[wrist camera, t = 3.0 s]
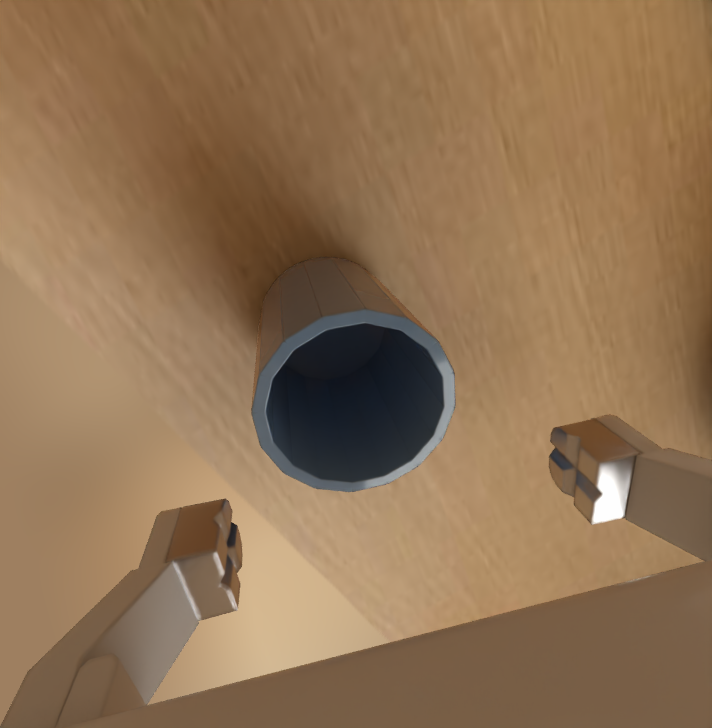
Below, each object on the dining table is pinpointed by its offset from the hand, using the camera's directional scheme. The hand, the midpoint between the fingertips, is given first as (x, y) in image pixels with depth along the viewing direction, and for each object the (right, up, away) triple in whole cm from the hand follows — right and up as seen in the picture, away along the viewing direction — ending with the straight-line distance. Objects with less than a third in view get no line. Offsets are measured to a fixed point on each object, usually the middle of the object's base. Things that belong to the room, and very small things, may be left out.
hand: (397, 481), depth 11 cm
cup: (-3, +5, +12) cm, 13 cm away
